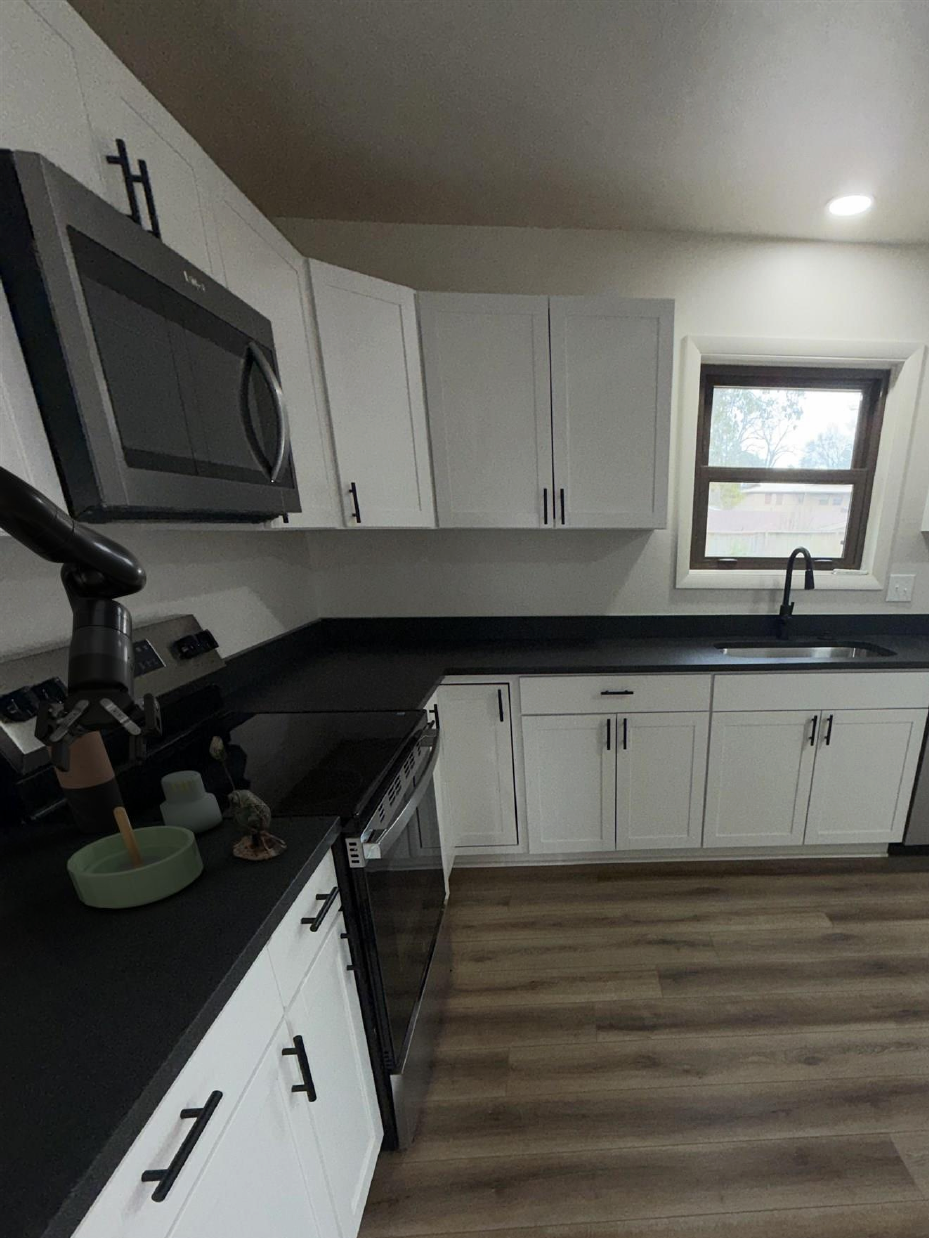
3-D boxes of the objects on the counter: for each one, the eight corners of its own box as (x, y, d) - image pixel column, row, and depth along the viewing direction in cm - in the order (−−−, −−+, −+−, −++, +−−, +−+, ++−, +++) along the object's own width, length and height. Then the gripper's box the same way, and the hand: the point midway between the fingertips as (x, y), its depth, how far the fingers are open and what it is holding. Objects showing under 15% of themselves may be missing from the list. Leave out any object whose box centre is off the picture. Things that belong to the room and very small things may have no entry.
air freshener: (165, 823, 117) (149, 772, 113) (217, 812, 122) (203, 762, 118) (172, 846, 109) (154, 791, 105) (226, 833, 114) (212, 780, 110)
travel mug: (83, 838, 112) (41, 727, 104) (73, 825, 117) (32, 718, 108) (135, 824, 117) (98, 717, 109) (123, 811, 122) (87, 708, 113)
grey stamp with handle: (113, 892, 95) (85, 818, 90) (126, 873, 100) (100, 801, 95) (160, 885, 96) (136, 812, 91) (171, 866, 101) (148, 796, 96)
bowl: (63, 921, 89) (47, 884, 87) (103, 867, 103) (90, 834, 100) (191, 901, 94) (180, 865, 91) (213, 852, 107) (203, 820, 105)
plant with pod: (233, 874, 101) (199, 753, 93) (232, 844, 110) (201, 731, 102) (290, 861, 105) (262, 744, 96) (284, 833, 114) (258, 724, 105)
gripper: (27, 654, 89) (20, 760, 83) (148, 648, 93) (148, 749, 88) (57, 683, 95) (52, 783, 90) (168, 677, 100) (169, 772, 94)
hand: (99, 766), depth 89 cm, fingers open, 8 cm apart
